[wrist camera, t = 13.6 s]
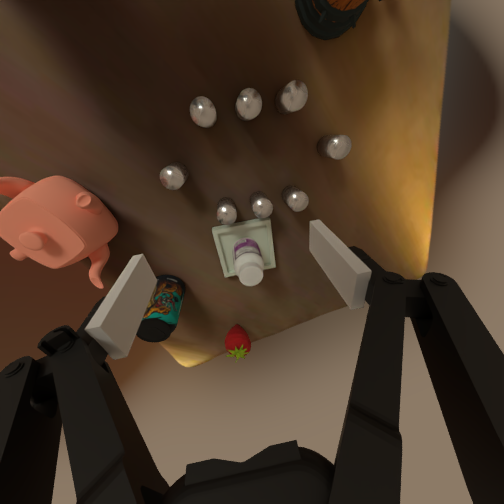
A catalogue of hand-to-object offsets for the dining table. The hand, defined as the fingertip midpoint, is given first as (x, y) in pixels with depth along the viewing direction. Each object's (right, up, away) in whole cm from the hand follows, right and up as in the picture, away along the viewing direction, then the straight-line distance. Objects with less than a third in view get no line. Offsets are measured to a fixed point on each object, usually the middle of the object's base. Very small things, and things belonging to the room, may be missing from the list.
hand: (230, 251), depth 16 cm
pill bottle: (0, +1, +25) cm, 25 cm away
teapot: (-26, +7, +19) cm, 33 cm away
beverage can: (-16, -7, +28) cm, 34 cm away
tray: (0, +1, +26) cm, 26 cm away
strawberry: (-2, -19, +37) cm, 42 cm away
